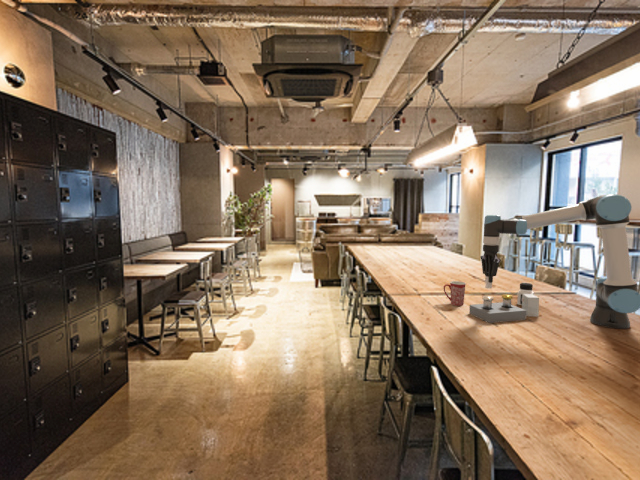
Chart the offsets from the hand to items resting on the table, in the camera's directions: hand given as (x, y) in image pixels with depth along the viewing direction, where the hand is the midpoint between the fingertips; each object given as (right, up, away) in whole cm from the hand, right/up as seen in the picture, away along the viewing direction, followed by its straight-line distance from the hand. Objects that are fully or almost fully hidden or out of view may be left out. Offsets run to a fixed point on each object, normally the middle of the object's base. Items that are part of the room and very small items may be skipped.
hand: (488, 288), depth 179 cm
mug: (-8, -14, +27) cm, 31 cm away
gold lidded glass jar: (+11, -11, +3) cm, 16 cm away
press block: (+6, -16, +2) cm, 17 cm away
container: (+35, -14, +24) cm, 44 cm away
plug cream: (0, -12, +1) cm, 12 cm away
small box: (+25, -16, +5) cm, 30 cm away
